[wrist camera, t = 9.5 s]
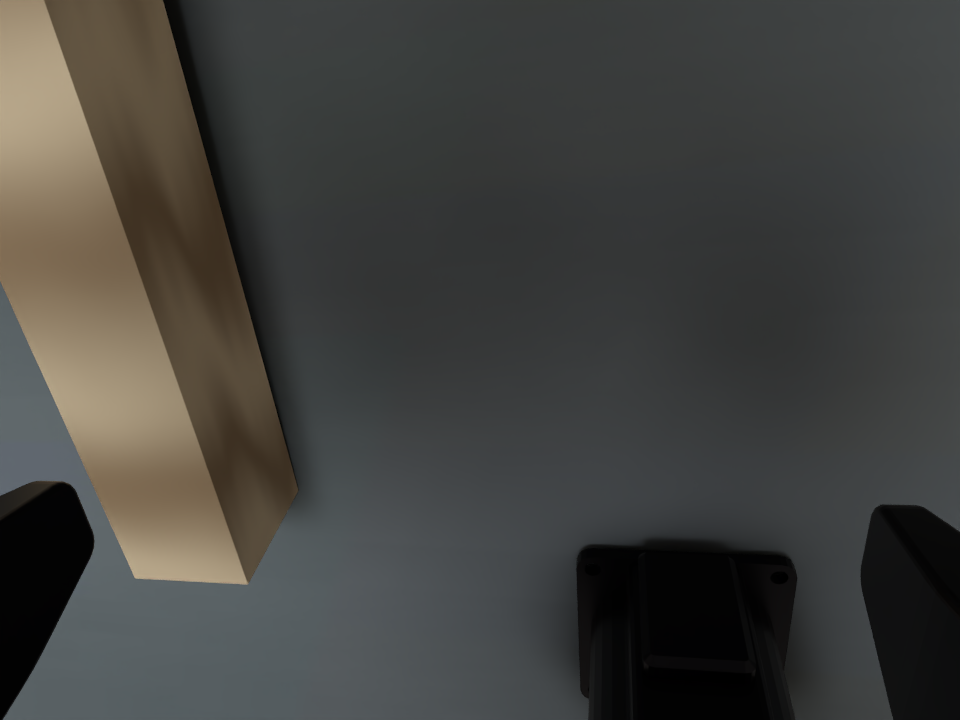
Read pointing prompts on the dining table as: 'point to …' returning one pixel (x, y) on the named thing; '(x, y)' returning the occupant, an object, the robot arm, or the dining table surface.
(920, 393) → the dining table surface
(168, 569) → the rail
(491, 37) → the dining table surface
